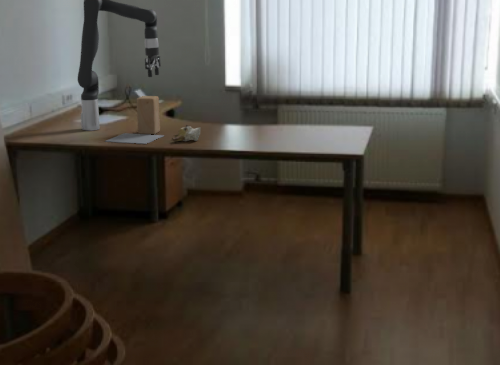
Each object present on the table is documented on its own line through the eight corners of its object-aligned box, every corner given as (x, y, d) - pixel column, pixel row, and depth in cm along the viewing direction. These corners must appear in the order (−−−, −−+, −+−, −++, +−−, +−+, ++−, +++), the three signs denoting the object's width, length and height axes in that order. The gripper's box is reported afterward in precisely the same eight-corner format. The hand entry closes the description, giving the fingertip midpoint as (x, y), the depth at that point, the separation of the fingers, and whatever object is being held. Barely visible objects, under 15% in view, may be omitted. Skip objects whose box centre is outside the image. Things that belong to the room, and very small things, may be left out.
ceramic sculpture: (199, 126, 405) (170, 128, 405) (200, 142, 407) (172, 144, 407) (200, 122, 415) (172, 124, 415) (202, 138, 417) (174, 140, 418)
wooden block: (155, 134, 428) (153, 98, 423) (137, 134, 430) (135, 98, 425) (160, 131, 438) (159, 95, 433) (143, 131, 440) (141, 95, 435)
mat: (104, 141, 412) (104, 140, 412) (124, 133, 432) (124, 133, 432) (146, 144, 405) (145, 143, 405) (164, 136, 425) (164, 135, 425)
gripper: (151, 45, 441) (153, 74, 445) (139, 47, 428) (141, 77, 432) (163, 45, 438) (165, 74, 442) (152, 47, 425) (154, 77, 429)
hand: (153, 76), depth 437 cm, fingers open, 8 cm apart
